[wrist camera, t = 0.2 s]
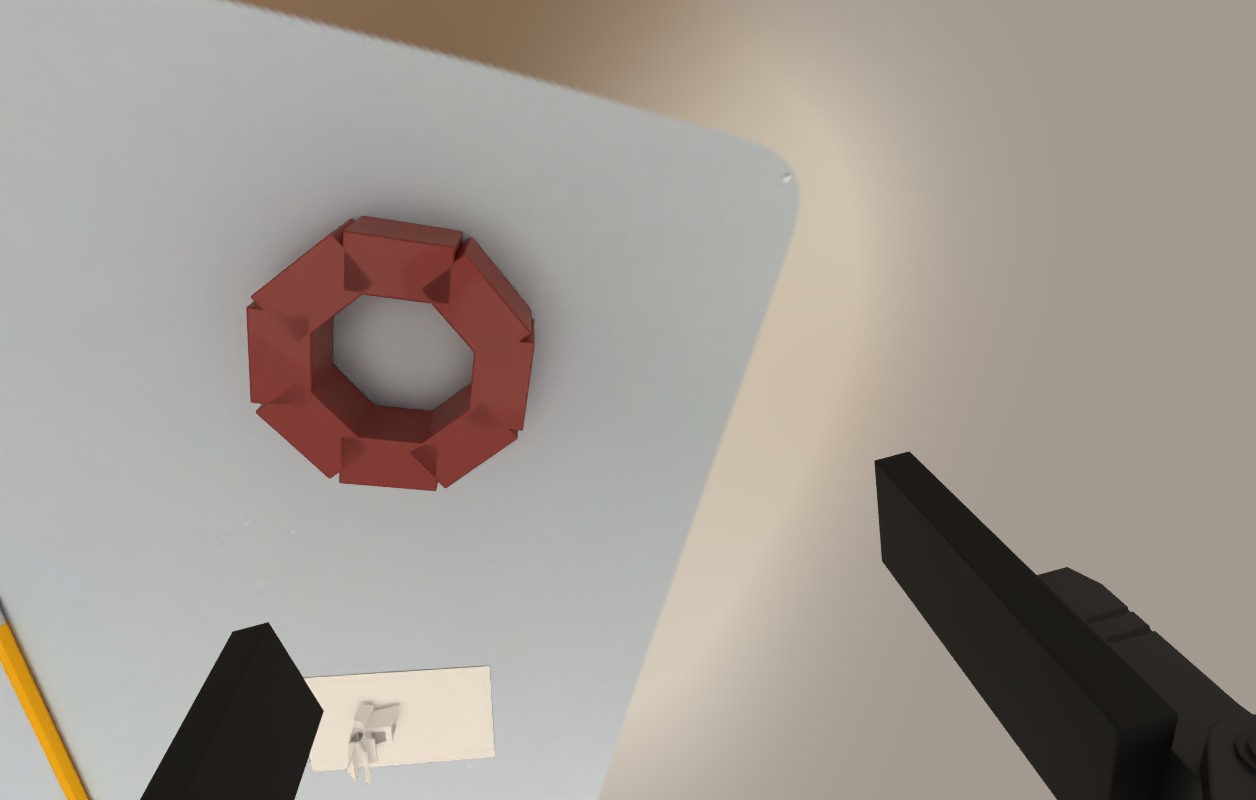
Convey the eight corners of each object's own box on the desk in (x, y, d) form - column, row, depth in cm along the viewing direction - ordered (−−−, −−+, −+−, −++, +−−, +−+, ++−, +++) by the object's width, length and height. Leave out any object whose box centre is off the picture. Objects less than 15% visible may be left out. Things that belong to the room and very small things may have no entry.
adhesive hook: (349, 700, 36) (334, 753, 33) (400, 697, 36) (388, 748, 34) (357, 740, 37) (342, 794, 34) (405, 736, 38) (395, 789, 35)
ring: (333, 156, 25) (309, 165, 22) (584, 302, 28) (589, 324, 26) (226, 389, 28) (194, 422, 25) (464, 494, 32) (457, 532, 29)
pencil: (-1, 593, 31) (-13, 603, 30) (114, 845, 38) (107, 858, 38) (-20, 594, 31) (-32, 604, 30) (99, 847, 38) (92, 859, 38)
